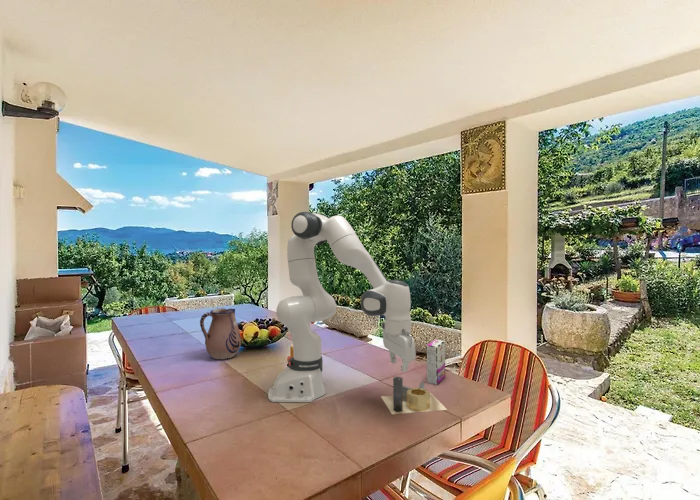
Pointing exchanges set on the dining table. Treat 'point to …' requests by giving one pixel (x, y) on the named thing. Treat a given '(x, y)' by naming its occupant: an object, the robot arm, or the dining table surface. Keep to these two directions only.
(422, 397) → the hinge leaves
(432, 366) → the candy bar box
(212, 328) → the ceramic pitcher
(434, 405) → the oak board
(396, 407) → the hinge pin
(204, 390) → the dining table surface
